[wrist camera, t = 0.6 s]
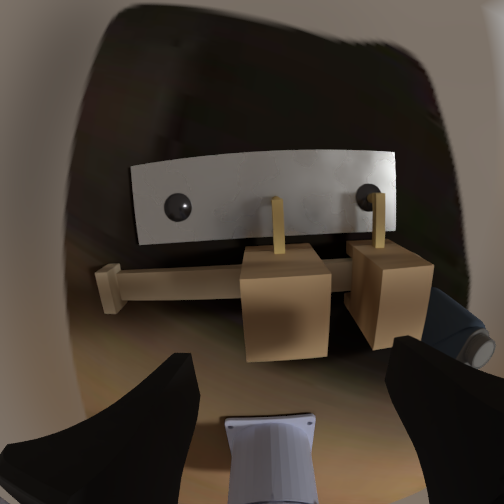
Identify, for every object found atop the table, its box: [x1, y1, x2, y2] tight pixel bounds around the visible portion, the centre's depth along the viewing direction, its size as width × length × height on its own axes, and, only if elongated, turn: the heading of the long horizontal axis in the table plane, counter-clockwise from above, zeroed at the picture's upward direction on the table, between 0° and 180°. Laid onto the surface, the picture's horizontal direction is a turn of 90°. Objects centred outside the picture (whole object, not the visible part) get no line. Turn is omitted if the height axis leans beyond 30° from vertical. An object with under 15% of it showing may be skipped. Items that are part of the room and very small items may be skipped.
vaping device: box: [421, 287, 496, 369], centre depth 13 cm, size 3×5×12 cm, turn 162°
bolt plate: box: [131, 150, 396, 245], centre depth 17 cm, size 5×17×1 cm, turn 94°
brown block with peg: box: [240, 196, 332, 362], centre depth 15 cm, size 8×4×6 cm, turn 4°
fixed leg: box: [344, 193, 434, 350], centre depth 15 cm, size 8×3×6 cm, turn 4°
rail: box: [95, 253, 420, 314], centre depth 18 cm, size 3×22×2 cm, turn 94°
